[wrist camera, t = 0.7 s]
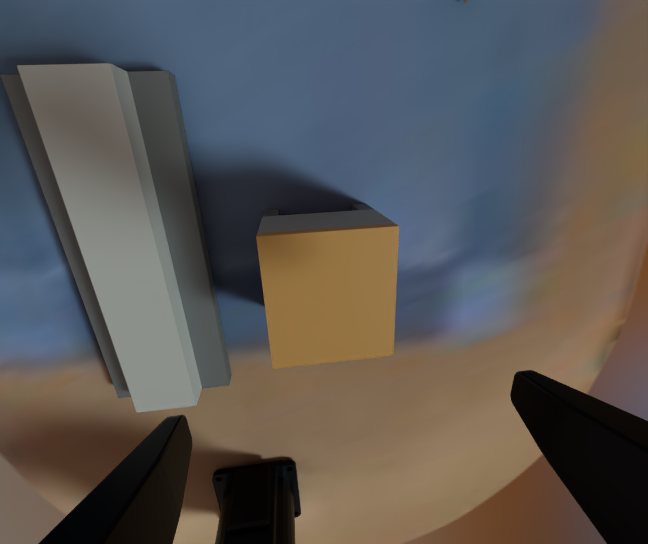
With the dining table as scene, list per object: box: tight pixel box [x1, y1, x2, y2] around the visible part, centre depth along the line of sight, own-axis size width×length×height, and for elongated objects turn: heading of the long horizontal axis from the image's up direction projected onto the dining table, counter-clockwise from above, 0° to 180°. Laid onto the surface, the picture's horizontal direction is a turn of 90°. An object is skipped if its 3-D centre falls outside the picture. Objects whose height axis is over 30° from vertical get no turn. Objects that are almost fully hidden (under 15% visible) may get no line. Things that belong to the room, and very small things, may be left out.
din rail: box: [0, 63, 231, 413], centre depth 17 cm, size 18×7×2 cm, turn 3°
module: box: [256, 203, 399, 369], centre depth 17 cm, size 6×6×6 cm
